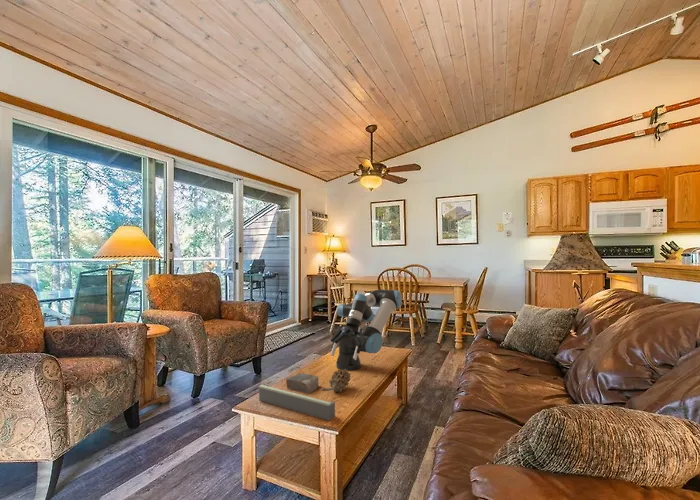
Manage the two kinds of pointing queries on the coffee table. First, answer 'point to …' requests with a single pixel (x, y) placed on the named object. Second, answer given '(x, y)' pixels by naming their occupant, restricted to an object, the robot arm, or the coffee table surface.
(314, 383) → the geological specimen
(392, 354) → the coffee table surface
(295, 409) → the end rail
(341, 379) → the pine cone
